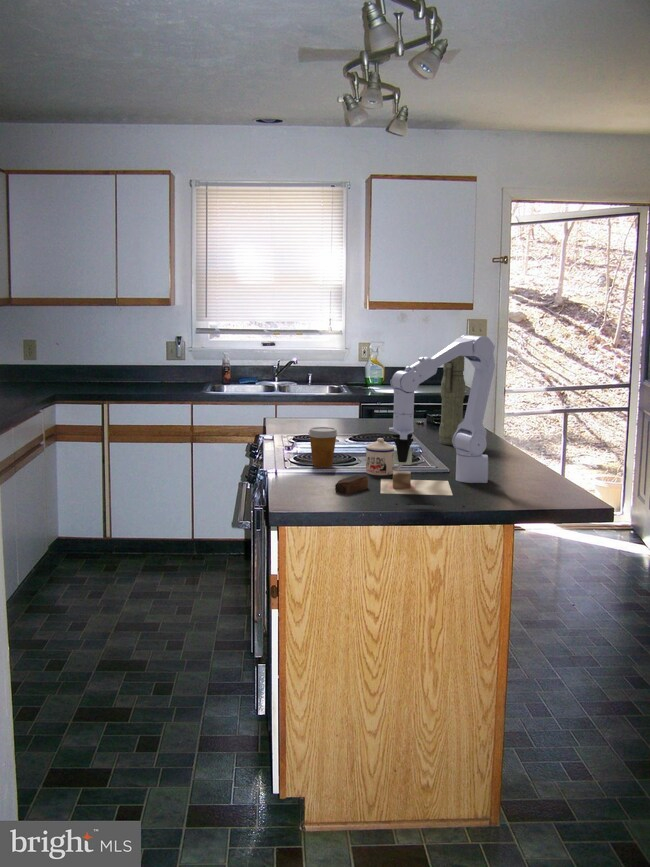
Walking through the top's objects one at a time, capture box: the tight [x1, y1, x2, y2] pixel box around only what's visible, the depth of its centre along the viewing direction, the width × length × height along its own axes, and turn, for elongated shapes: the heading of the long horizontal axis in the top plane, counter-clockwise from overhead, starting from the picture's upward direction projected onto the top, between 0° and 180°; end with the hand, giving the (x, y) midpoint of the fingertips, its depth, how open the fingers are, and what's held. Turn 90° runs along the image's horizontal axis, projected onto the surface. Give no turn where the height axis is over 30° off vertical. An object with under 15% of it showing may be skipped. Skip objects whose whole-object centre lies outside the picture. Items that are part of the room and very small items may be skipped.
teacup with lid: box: [365, 437, 403, 476], centre depth 268 cm, size 12×9×12 cm
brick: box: [334, 474, 369, 495], centre depth 245 cm, size 11×4×5 cm, turn 142°
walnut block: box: [392, 470, 412, 489], centre depth 250 cm, size 5×5×4 cm
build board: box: [380, 478, 453, 496], centre depth 250 cm, size 20×18×1 cm
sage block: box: [394, 446, 413, 465], centre depth 249 cm, size 5×5×4 cm
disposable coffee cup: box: [308, 426, 339, 468], centre depth 282 cm, size 10×10×12 cm
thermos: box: [438, 356, 466, 446], centre depth 323 cm, size 9×12×35 cm
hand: (402, 460), depth 249 cm, fingers closed on sage block, 5 cm apart
